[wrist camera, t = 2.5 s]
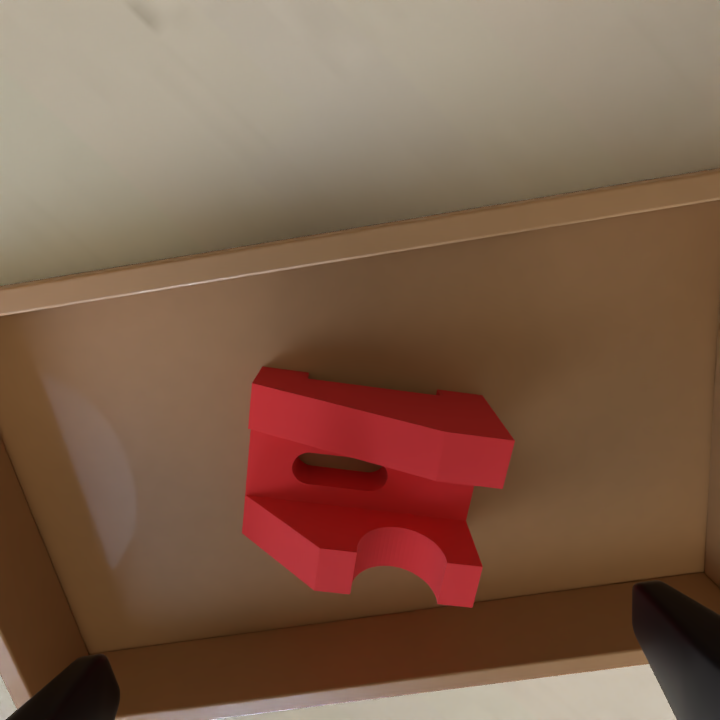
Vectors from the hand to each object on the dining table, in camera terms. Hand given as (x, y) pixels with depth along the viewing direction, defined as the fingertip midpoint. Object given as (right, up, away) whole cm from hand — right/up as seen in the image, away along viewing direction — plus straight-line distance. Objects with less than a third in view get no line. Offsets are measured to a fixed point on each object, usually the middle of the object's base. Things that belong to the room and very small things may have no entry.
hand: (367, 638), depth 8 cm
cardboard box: (0, +2, +7) cm, 7 cm away
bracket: (0, +2, +7) cm, 7 cm away
